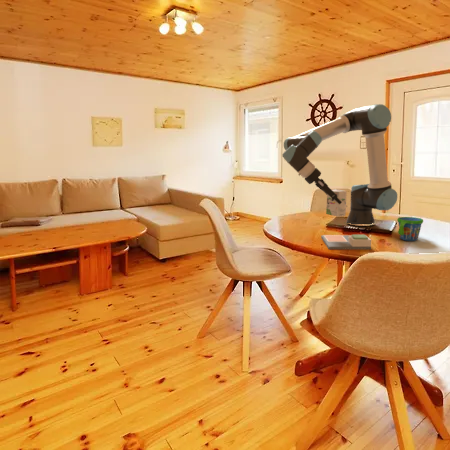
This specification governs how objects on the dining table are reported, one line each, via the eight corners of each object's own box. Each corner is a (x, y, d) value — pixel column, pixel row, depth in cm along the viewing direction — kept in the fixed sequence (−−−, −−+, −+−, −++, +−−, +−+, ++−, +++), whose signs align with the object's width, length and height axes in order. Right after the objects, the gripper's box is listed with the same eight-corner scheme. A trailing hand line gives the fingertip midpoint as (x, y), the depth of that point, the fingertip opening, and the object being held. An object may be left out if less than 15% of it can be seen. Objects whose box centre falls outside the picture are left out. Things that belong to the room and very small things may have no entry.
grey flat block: (358, 237, 176) (359, 229, 175) (371, 249, 156) (371, 239, 155) (321, 237, 178) (321, 229, 177) (328, 249, 158) (329, 240, 157)
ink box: (325, 214, 173) (326, 189, 171) (333, 213, 175) (334, 189, 173) (337, 216, 165) (338, 191, 163) (346, 215, 167) (347, 190, 165)
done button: (364, 239, 162) (364, 234, 161) (367, 242, 156) (368, 237, 156) (351, 239, 163) (351, 234, 162) (354, 242, 157) (354, 237, 157)
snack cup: (408, 235, 178) (410, 215, 176) (429, 239, 169) (431, 218, 167) (388, 239, 171) (389, 218, 169) (408, 244, 162) (410, 222, 160)
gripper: (301, 177, 179) (332, 208, 181) (306, 180, 158) (341, 216, 159) (312, 166, 178) (344, 197, 179) (319, 168, 156) (354, 204, 157)
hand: (342, 206), depth 169 cm, fingers closed on ink box, 9 cm apart
